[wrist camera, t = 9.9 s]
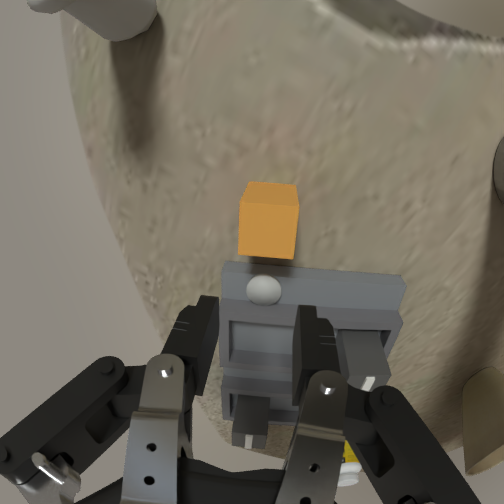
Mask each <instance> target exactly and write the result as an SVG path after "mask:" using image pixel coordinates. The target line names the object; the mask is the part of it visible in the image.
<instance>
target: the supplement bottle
mask: <svg viewBox="0 0 504 504" xmlns="http://www.w3.org/2000/svg"><path fill="white" fill-rule="evenodd" d="M361 468H362V466H361V464H360V463H359V461H358V459H357V457H356V456H355V454H354V452H353V450H352V449H351V447H350V445H349V444H348V441H347V440H345V447H344V453H343V459H342V465H341V470H340V475H339V480H338V485H337V486H350V485H353V484H356V483H358V481H359V476H358V474H357V473H358V472H359V471H360V470H361Z"/></svg>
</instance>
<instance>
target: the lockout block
mask: <svg viewBox="0 0 504 504" xmlns="http://www.w3.org/2000/svg"><path fill="white" fill-rule="evenodd" d="M298 214H299V202H298V196H297V190H296V185H289V184H277V183H264V182H250V181H249V183H248V185H247V187H246V190H245V192H244V194H243V196H242V198H241V200H240V211H239V243H238V255H248V256H260V257H272V258H283V259H293V257H294V249H295V240H296V232H297V223H298Z"/></svg>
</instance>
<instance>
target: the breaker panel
mask: <svg viewBox="0 0 504 504" xmlns="http://www.w3.org/2000/svg"><path fill="white" fill-rule="evenodd" d="M406 287H407V286H406V284H405V282H404V280H403V279H402V277H401V275H388V274H375V273H362V272H349V271H336V270H324V269H311V268H299V267H287V266H276V265H264V264H253V263H241V262H230V261H225V263H224V266H223V269H222V299H221V302H220V305H219V320H220V327H219V356H220V367H223V368H224V376H223V381H222V385H221V397H222V414H223V419H224V420H231V421H234V416H235V410H236V404H237V398H238V394H240V395H249V396H259V397H270V408H269V420H268V424H271V425H288V426H295V425H296V421H297V418H298V415H299V406H292V340H293V331H294V326H295V320H296V314H297V308H298V305H299V304H300V305H314V306H316V309H317V317H318V318H327V319H328V320H329V322H330V323H331V324H332V326H333V328H334V334H335V340H336V336H337V333H338V330H339V329H360V330H377V331H378V334H379V337H380V340H381V343H382V346H383V349H384V352H385V355H386V359H387V358H388V356H389V354H390V352H391V349H392V347H393V345H394V343H395V341H396V339H397V336H398V334H399V332H400V329H401V327H402V325H403V320H402V318H401V316H400V314H399V312H398V309H399V306H400V303H401V301H402V298H403V295H404V292H405V289H406Z"/></svg>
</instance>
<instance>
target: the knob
mask: <svg viewBox="0 0 504 504" xmlns="http://www.w3.org/2000/svg"><path fill="white" fill-rule="evenodd" d="M336 346H337V352H338V358H339V365H340V371H341V375H342V376H343V377H344V378H345V379H346V381H347V383H348V384H349V385H351V386H353V387H355V388H358V389H361V390H365V391H369V392H372V391H373V390H374V389H375V388H377V387H379V386H383V385H386V383H387V382H388V380H389V378H390V376H391V372H390V368H389V365H388V362H387V359H386V355H385V352H384V349H383V346H382V343H381V340H380V337H379V334H378V331H377V330H360V329H339V330H338V333H337V336H336Z"/></svg>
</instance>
